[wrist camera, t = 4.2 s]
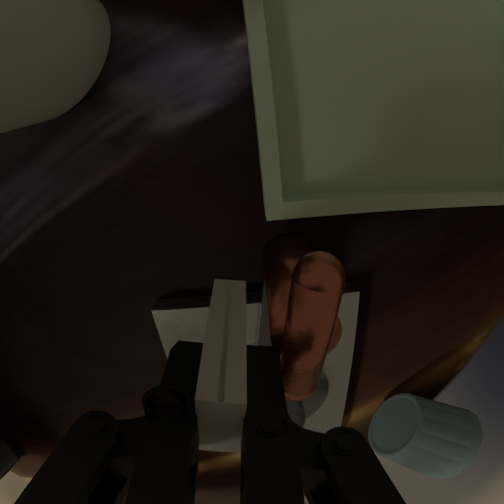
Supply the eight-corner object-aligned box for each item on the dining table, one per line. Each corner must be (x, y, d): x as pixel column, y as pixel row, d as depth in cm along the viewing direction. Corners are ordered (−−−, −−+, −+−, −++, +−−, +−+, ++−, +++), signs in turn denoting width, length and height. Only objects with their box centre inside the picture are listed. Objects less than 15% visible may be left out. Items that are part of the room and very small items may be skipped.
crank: (294, 416, 21) (305, 498, 15) (229, 415, 21) (225, 499, 15) (343, 201, 15) (410, 270, 8) (239, 193, 15) (233, 261, 8)
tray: (263, 207, 16) (266, 221, 14) (232, -76, 9) (230, -96, 7) (507, 194, 16) (527, 204, 14) (483, -32, 9) (501, -39, 7)
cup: (429, 363, 20) (478, 397, 22) (360, 398, 25) (419, 424, 27) (436, 452, 15) (485, 464, 16) (354, 474, 19) (418, 486, 21)
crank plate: (206, 440, 25) (205, 451, 24) (156, 299, 19) (150, 312, 17) (335, 429, 25) (338, 440, 24) (353, 281, 18) (360, 292, 17)
